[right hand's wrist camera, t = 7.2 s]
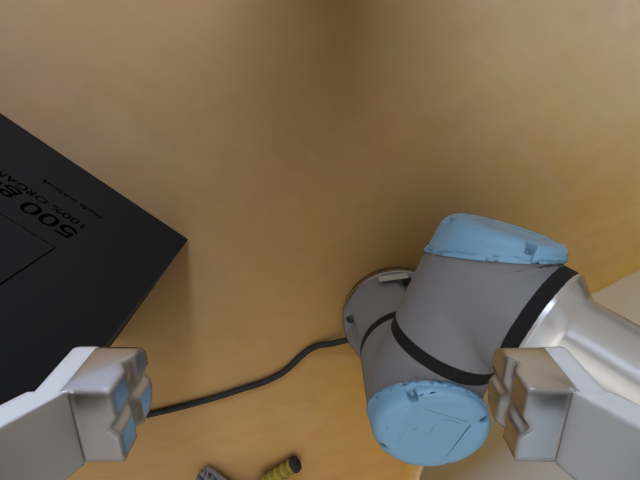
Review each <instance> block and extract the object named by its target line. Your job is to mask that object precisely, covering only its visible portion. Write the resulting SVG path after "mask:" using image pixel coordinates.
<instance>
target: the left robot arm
mask: <svg viewBox="0 0 640 480" xmlns="http://www.w3.org/2000/svg"><path fill="white" fill-rule="evenodd" d="M567 255H568V249H567V248H566V247H565V246H564V245H563V244H561V243H558V242H556V241H554V240H552V239H551V238H549V237H546V236H544V235H541V234H539V233H536V232H533V231H531V230H528V229H525V228H522V227H519V226H516V225H512V224H509V223H506V222H502V221H499V220H495V219H491V218H487V217H483V216H479V215H473V214H466V213H456V214H452V215H449V216H447V217H445V218H444V219H443V220H442V221H441V222H440V224H439V226H438V228H437V229H436V231H435V233H434V235H433V237H432V239H431V240H430V242H429V244H428V245H426V246H425V248H424V253H423V256H422V258H421V260H420V262H419V264H418V266H417V269H416V270H414V269H410V268H402V267H395V268H387V269H383V270H379V271H377V272H374V273H372V274H370V275H368V276H367V277H365V278H364V279H362V280H361V281H360V282H359V283H358V284H357V285H356V286H355V287H354V288H353V289H352V290H351V292H350V293H349V295H348V297H347V299H346V301H345V304H344V308H343V326H344V331H345V334H346V337H345V338H341V339H337V340H332V341H326V342H319V343H316V344H314V345H312V346H310V347H308V348H306V349H305V350H304V351H302V352H301V353H300V354H299V355H298V356H297V357H296V358H295V359H294V360H293V361H292V362H290V363H289V364H288V365H287V366H286V367H285V368H284V369H282V370H281V371H279V372H278V373H276V374H274V375H272V376H270V377H268V378H266V379H263V380H261V381H258V382H255V383H251V384H248V385H245V386H241V387H238V388H235V389H232V390H229V391H226V392H223V393H220V394H216V395H213V396H210V397H206V398H203V399H199V400H195V401H192V402H188V403H184V404H180V405H176V406H172V407H168V408H164V409H160V410H155V411H151V412H149V413H148V415H147V417H146V418H149V417H153V416H158V415H162V414H166V413H170V412H175V411H179V410H182V409H186V408H190V407H194V406H197V405H201V404H205V403H208V402H212V401H215V400H218V399H222V398H225V397H228V396H231V395H234V394H237V393H240V392H244V391H247V390H250V389H254V388H257V387H260V386H263V385H265V384H268V383H270V382H272V381H274V380H276V379H278V378H280V377H282V376H283V375H285V374H286V373H287V372H289V371H290V370H291V369H292V368H293V367H294V366H295V365H296V364H297V363H298V362H299V361H300V360H302V359H303V358H304V357H305V356H306V355H307V354H309V353H310V352H312V351H314V350H316V349H319V348H324V347H332V346H336V345H341V344H345V343H349V344H350V345H351V347H352V348H353V350H354V351H355V352H356V354H357V355H358V356H359V357H360V359H361V363H362V370H363V378H364V386H365V393H366V401H367V416H368V419H369V420H370V423H371V427H372V432H373V435H374V437H375V439H376V440H377V442H378V443H379V445H380V446H381V448H382V449H383V450H384V451H386V452H387V453H388V454H389V455H391V456H393V457H394V458H396V459H398V460H400V461H403V462H406V463H409V464H413V465H419V466H439V465H443V464H446V463H454V462H457V461H459V460H462V459H464V458H466V457H468V456H469V455H471V454H473V453H474V452H475V451H476V450H477V449H479V447H480V446H481V445H482V444H483V443H484V441H485V440H486V438H487V436H488V434H489V430H490V418H489V411H488V406H487V404H486V403H485V401H484V400H483V396H484V394H485V392H486V390H487V389H488V385H489V379H490V378H491V377H492V376H493V375H494V374H495V373H496V372H497V371H496V370H495V368H494V366H493V364H492V360H493V354H494V352H495V350H496V348H539V347H557V346H562V347H564V348H566V349H568V350H569V351H570V353H571V354H572V355H573V356H574V357H575V358H576V359H577V360H578V361H579V363H580V364H581V365H582V366H583V367H584V368H585V369H586V370H587V372H588V373H589V374H590V375H591V376H592V377H593V378H594V379H595V380H596V382H597V383H598V384H599V385H600V386H601V387H602V388H603V389H604V391H605V392H614V393H616V394H618V395H620V396H622V397H624V398H626V399H628V400H630V401H632V402H634V403H636V404H638V405H640V326H639V325H637V324H635V323H633V322H631V321H630V320H628V319H626V318H624V317H622V316H621V315H619V314H617V313H615V312H613V311H611V310H609V309H608V308H606V307H604V306H602V305H600V304H598V303H597V302H595V301H594V300H593V298H592V297H591V295H590V292H589V289H588V286H587V283H586V280H585V277H584V276H583V275H581V274H579V273H578V272H576V271H574V270H572V269H570V268H568V267H566V266H565V265H564V263H566V262H567V260H568V257H567Z"/></svg>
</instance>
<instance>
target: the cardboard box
mask: <svg viewBox="0 0 640 480" xmlns="http://www.w3.org/2000/svg"><path fill="white" fill-rule="evenodd" d="M0 171H1V174H2V176H3V177H1V174H0V405H2V404H4V403H6V402H8V401H10V400H12V399H14V398H16V397H18V396H20V395H22V394H24V393H26V392H35V390H36V389H37V388H38V387H39V386H40V385H41V384H42V383H43V382H44V380H45V379H46V378H47V377H48V376H49V375H50V374H51V373H52V372H53V370H54V369H55V368H56V367H57V366H58V365H59V364H60V363H61V361H62V360H63V359H64V358H65V357H66V356H67V355H68V354H69V353H70V351H71V350H72V349H73V348H76V347H110V346H111V345H112V344H113V342H114V341H115V340H116V338H117V337H118V335H119V334H120V333H121V331H122V330H123V328H124V327H125V326H126V324H127V323H128V322H129V320H130V319H131V317H132V316H133V315H134V313H135V312H136V310H137V309H138V308H139V306H140V305H141V303H142V302H143V301H144V299H145V298H146V297H147V295H148V294H149V292H150V291H151V290H152V288H153V287H154V285H155V284H156V283H157V281H158V280H159V278H160V277H161V276H162V274H163V273H164V271H165V270H166V269H167V267H168V266H169V265H170V263H171V262H172V260H173V259H174V258H175V256H176V255H177V253H178V252H179V251H180V249H181V248H182V246H183V245H184V244H185V242H186V241H187V240H188V239H186V238H185V237H183V236H182V235H180V234H179V233H177V232H176V231H174V230H173V229H171V228H170V227H168V226H167V225H165V224H164V223H162V222H161V221H159V220H158V219H156V218H155V217H153V216H152V215H150V214H149V213H147V212H146V211H144V210H143V209H142V208H140V207H139V206H137V205H136V204H134V203H133V202H131V201H130V200H128V199H127V198H125V197H124V196H122V195H121V194H119V193H118V192H116V191H115V190H113V189H112V188H110V187H109V186H107V185H106V184H104V183H103V182H101V181H100V180H98V179H97V178H95V177H94V176H92V175H91V174H89V173H88V172H86V171H85V170H83V169H82V168H81V167H79V166H78V165H76V164H75V163H73V162H72V161H70V160H69V159H67V158H66V157H64V156H63V155H61V154H60V153H58V152H57V151H55V150H54V149H52V148H51V147H49V146H48V145H46V144H45V143H43V142H42V141H40V140H39V139H37V138H36V137H34V136H33V135H31V134H30V133H28V132H27V131H25V130H24V129H22V128H21V127H20V126H18V125H17V124H15V123H14V122H12V121H11V120H9V119H8V118H6V117H5V116H3V115H2V114H0ZM5 174H6V176H5ZM9 177H10V178H11V179H13V180H11V179H10V181H9V180H8V178H9ZM17 181H18V182H17ZM20 183H21V184H20ZM6 184H7V185H8V186H9V189H10V188H11V190H9V189H7V188H8V187H7V186H5V185H6ZM15 185H17V187H16V186H15ZM24 185H25V186H24ZM18 187H19V188H18ZM26 187H27V188H26ZM3 189H5V190H7V191H5V190H3ZM21 189H23V190H21ZM24 189H26V190H24ZM27 189H28V190H27ZM30 189H31V190H32V191H33V193H30V192H32V191H31V190H30ZM13 190H14V192H17V193H16V194H15V195H14V193H13ZM8 191H9V192H10V193H12V194H9V192H8ZM27 191H28V193H29V194H31V195H28V194H27ZM18 192H19V193H20V194H19V193H18ZM34 193H35V195H34ZM35 196H36V197H35ZM39 196H41V197H39ZM44 198H45V199H44ZM37 199H38V200H37ZM46 199H47V201H46V203H44V202H45V200H46ZM27 202H29V203H30V204H29V203H27ZM42 202H43V203H42ZM20 206H22V208H21V209H20ZM24 210H25V212H23V211H24ZM28 212H31V213H29V214H27V213H28ZM32 213H33V215H32ZM3 215H4V216H6V217H7V218H6V217H4V216H3ZM8 218H9V219H8ZM38 219H41V220H40V221H39V220H38ZM42 221H43V224H42ZM14 222H15V223H14ZM16 223H17V224H19V225H20V226H19V225H17V224H16ZM49 224H50V225H51V226H49ZM26 229H27V230H28V231H27V230H26ZM29 231H30V232H32V233H30V232H29ZM37 236H38V237H40V238H41V239H43V240H41V239H40V238H38V237H37Z"/></svg>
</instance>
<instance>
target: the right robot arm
mask: <svg viewBox="0 0 640 480" xmlns="http://www.w3.org/2000/svg"><path fill="white" fill-rule="evenodd" d="M147 364H148V360H147V355H146V351H145V350H144V349H143V348H137V347H76V348H73V349H72V350H71V351H70V353H69V354H68V355H67V356H66V357H65V358H64V359H63V360H62V361H61V363H60V364H59V365H58V366H57V367H56V368H55V369H54V370H53V372H52V373H51V374H50V375H49V376H48V377H47V378H46V379H45V380H44V382H43V383H42V384H41V385H40V386H39V387H38V388H37V389H36V390H35V392H26V393H24V394H22V395H20V396H18V397H16V398H14V399H12V400H10V401H8V402H6V403H4V404H2V405H0V480H66V479H67V478H68V477H69V476H71V475H72V474H73V473H74V472H75V471H77V470H78V469H79V468H80V467H81V466H83V465H84V462H98V461H125V459H126V457H127V455H128V453H129V451H130V449H131V447H132V445H133V443H134V441H135V439H136V437H137V434H136V427H137V426H138V425H140V424H141V423H143V422H144V421H145V419H146V417H147V415H148V413H149V410H150V405H151V401H152V384H151V379H150V378H149V377H148V376H147V375H146V374H145V373H144V372H143V371H144V370H145V368H146V366H147ZM492 364H493V366H494V368H495V370H496V371H497V372H496V373H495V374H494V375H493V376H492V377H491V378H490V379H489V385H488V401H489V406H490V410H491V413H492V415H493V417H494V419H495V421H496V422H497V423H499V424H500V425H502V426H503V427H504V434H503V437H504V439H505V441H506V443H507V445H508V447H509V449H510V451H511V453H512V455H513V457H514V459H515V461H542V462H556V464H557V465H558V466H559V467H560V468H561V469H562V470H564V471H565V472H566V473H567V474H568V475H570V476H571V477H572V478H573V479H574V480H640V405H638V404H636V403H634V402H632V401H630V400H628V399H626V398H624V397H622V396H620V395H618V394H616V393H614V392H605V391H604V389H603V388H602V387H601V386H600V385H599V384H598V383H597V382H596V380H595V379H594V378H593V377H592V376H591V375H590V374H589V373H588V372H587V370H586V369H585V368H584V367H583V366H582V365H581V364H580V363H579V361H578V360H577V359H576V358H575V357H574V356H573V355H572V354H571V353H570V351H569V350H568V349H566V348H564V347H562V346H557V347H539V348H496V350H495V352H494V354H493V360H492Z"/></svg>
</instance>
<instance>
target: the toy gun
mask: <svg viewBox="0 0 640 480" xmlns="http://www.w3.org/2000/svg"><path fill="white" fill-rule="evenodd" d="M301 468H302V467H301V463H300V460H299V459H298V458H296V457H291V458H290V459H288V460H287V461H286V463H282V464H281V465H280V466H279V467H278V466H277V467H275V468H274V470H272V471H269V472H267V474H263V475H262V476H260V478H259V480H283V479H284V478H286V479H287V478H288V477H289V476H290V475H293V474H295V473H298V472H299V471H300V469H301ZM206 471H207V473H206V474H205V472H206ZM208 473H210V474H211V477H209V476H208ZM200 475H201V476H200ZM196 480H227V479H226V478H224V477H223V476H221V475H220V473H217V472H216V471H215V470H213V469H212V468H210V466H209V465H208V466H206V467H205V469H204V472H202V471H201V472H200V473H199V474H198V476H197V478H196Z"/></svg>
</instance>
